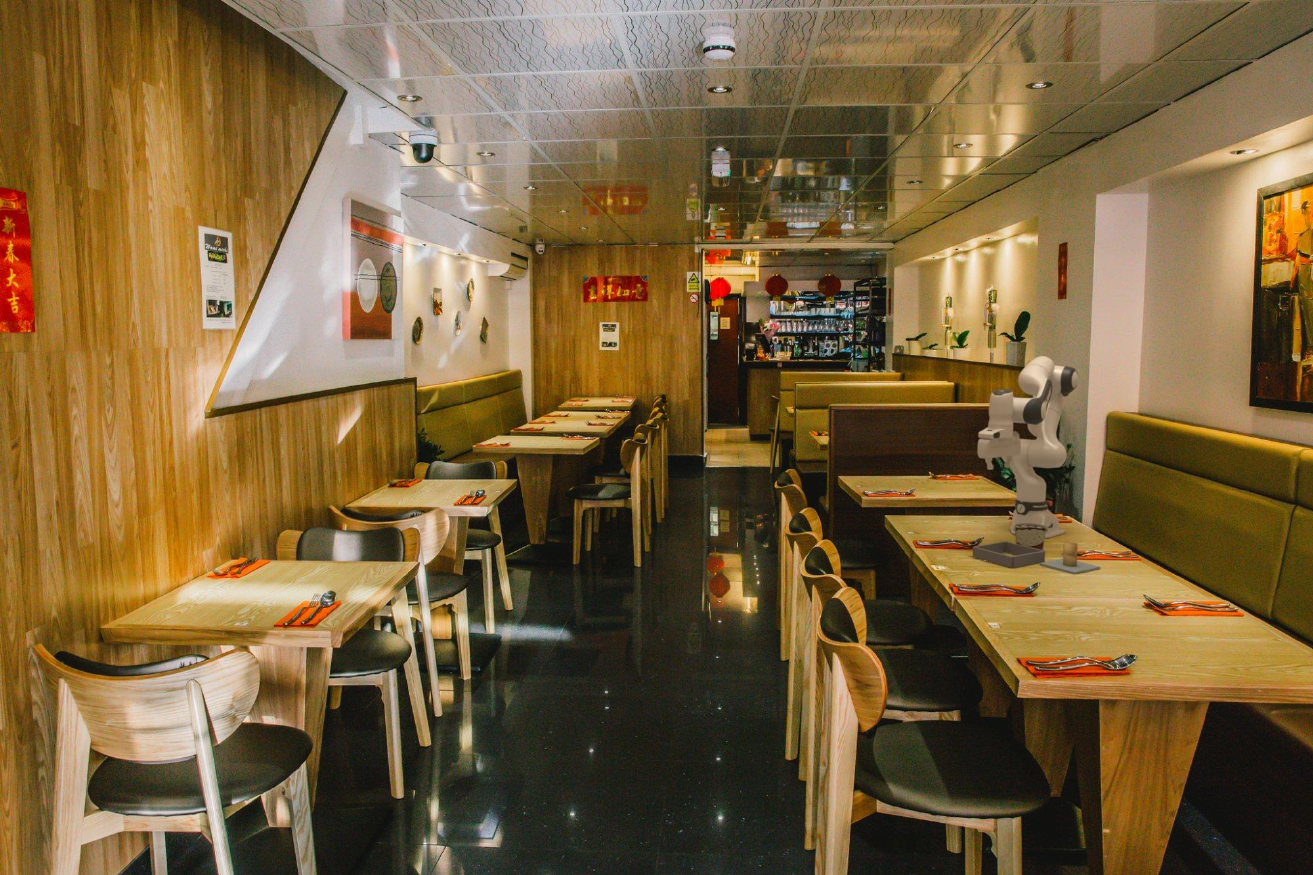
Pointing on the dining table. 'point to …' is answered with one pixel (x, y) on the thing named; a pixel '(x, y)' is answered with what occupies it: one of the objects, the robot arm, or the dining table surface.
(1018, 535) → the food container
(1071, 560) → the peg
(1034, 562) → the frame
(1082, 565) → the mat
